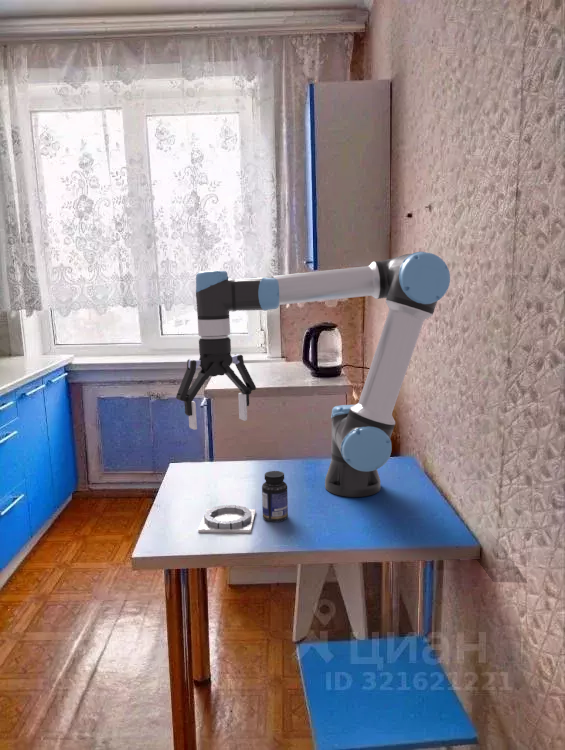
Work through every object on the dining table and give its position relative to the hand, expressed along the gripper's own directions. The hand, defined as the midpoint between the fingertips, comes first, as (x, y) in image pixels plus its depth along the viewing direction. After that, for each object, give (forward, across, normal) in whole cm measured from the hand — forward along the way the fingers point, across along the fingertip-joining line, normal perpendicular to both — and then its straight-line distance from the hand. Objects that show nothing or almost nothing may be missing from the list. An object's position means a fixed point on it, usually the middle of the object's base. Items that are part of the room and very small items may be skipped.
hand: (218, 424), depth 144 cm
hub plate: (+22, +2, +7) cm, 23 cm away
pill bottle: (+23, -8, +11) cm, 27 cm away
